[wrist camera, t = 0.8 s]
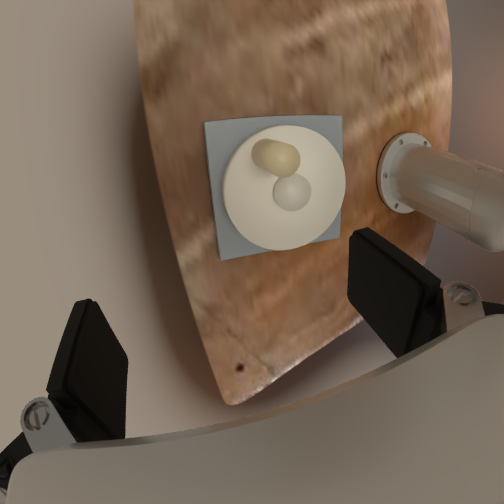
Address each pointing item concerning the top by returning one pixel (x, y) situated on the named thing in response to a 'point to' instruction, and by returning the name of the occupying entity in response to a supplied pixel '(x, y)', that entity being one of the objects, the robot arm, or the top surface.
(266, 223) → the dial
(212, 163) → the base board
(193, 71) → the top surface
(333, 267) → the top surface
